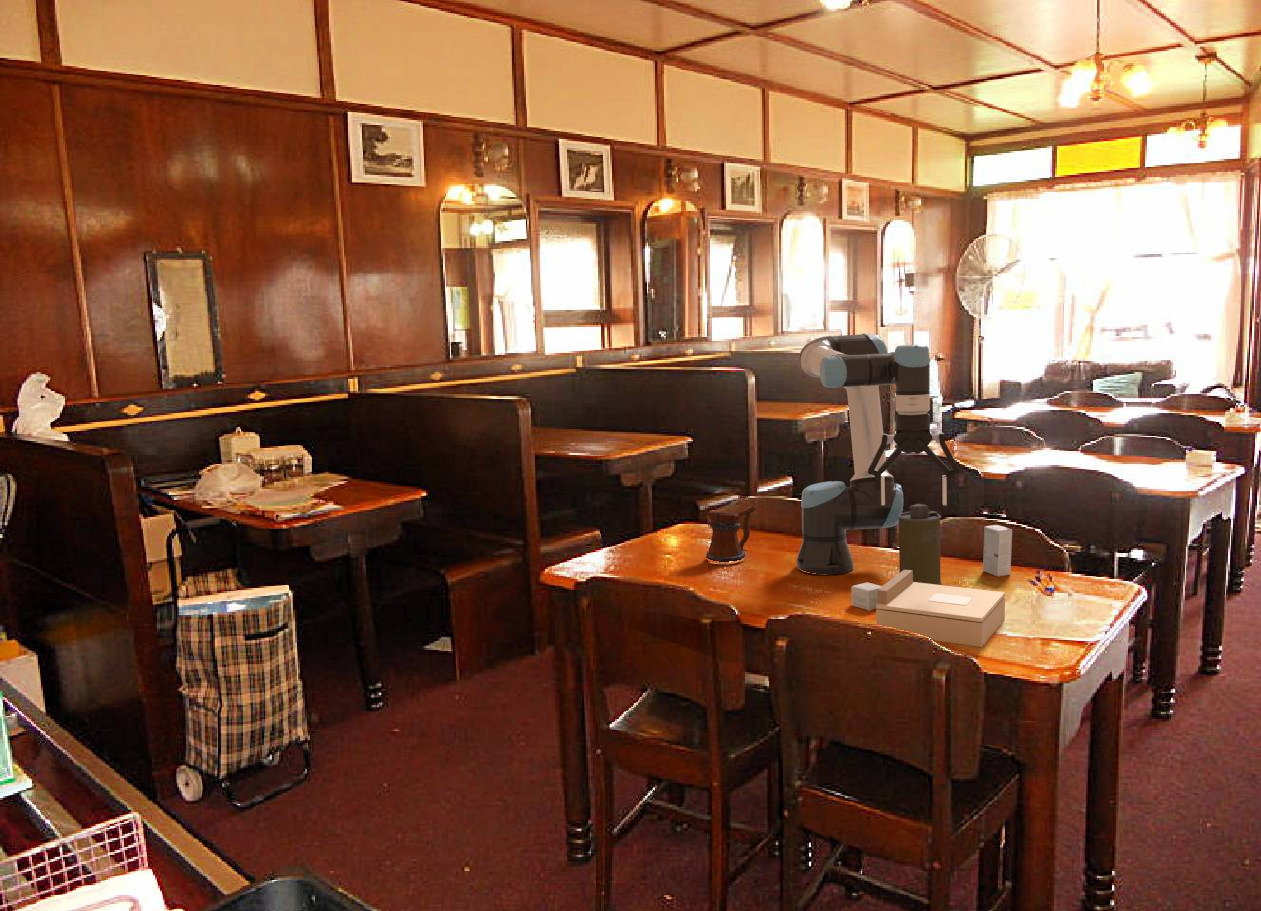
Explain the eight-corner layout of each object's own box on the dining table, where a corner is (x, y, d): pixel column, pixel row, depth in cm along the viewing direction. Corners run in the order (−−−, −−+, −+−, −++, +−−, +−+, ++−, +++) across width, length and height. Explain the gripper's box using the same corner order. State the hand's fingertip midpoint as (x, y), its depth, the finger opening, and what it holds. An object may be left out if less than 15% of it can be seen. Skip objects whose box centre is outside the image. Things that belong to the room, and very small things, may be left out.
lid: (876, 608, 201) (875, 591, 200) (905, 584, 217) (905, 568, 217) (982, 622, 189) (982, 603, 188) (1004, 595, 205) (1005, 579, 204)
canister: (919, 590, 230) (918, 511, 227) (889, 581, 239) (888, 504, 236) (951, 583, 235) (951, 505, 232) (921, 574, 244) (920, 499, 241)
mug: (741, 549, 280) (739, 500, 278) (769, 555, 271) (768, 505, 269) (697, 561, 269) (695, 510, 267) (725, 568, 260) (723, 515, 258)
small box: (885, 606, 219) (885, 586, 219) (868, 611, 216) (868, 590, 215) (867, 601, 224) (867, 581, 223) (850, 605, 221) (850, 585, 220)
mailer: (876, 631, 202) (876, 609, 201) (905, 606, 218) (905, 585, 217) (982, 647, 189) (982, 623, 189) (1004, 619, 206) (1004, 597, 205)
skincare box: (982, 571, 244) (982, 526, 242) (996, 569, 245) (996, 524, 243) (997, 577, 238) (998, 530, 236) (1012, 574, 239) (1012, 528, 238)
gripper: (855, 415, 212) (857, 507, 215) (971, 412, 206) (972, 507, 209) (857, 412, 220) (858, 501, 222) (969, 409, 213) (969, 501, 216)
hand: (913, 504), depth 215 cm, fingers open, 13 cm apart
